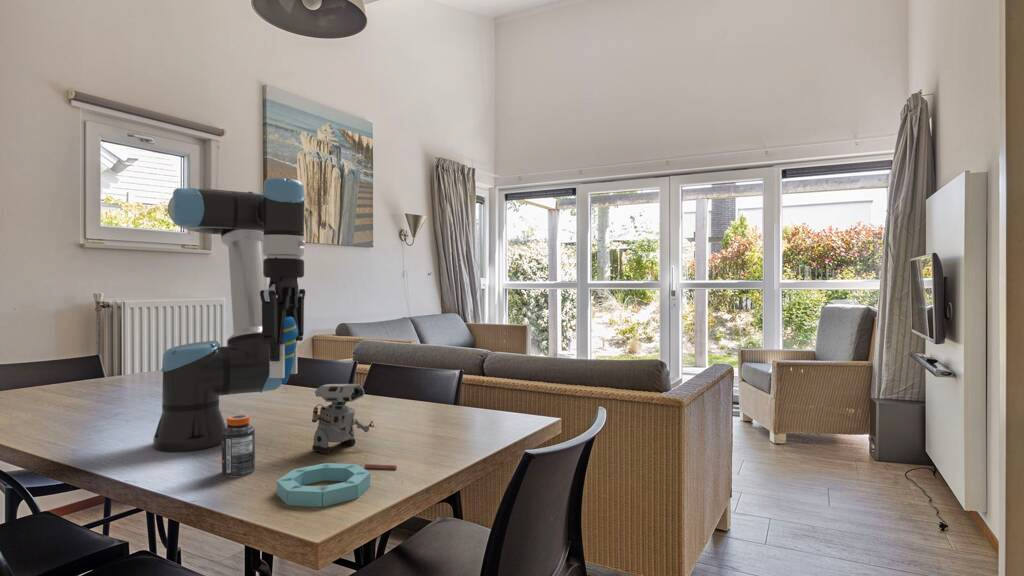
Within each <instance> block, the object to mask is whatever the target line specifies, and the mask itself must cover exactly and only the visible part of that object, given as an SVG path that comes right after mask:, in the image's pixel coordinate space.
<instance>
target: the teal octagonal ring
mask: <svg viewBox="0 0 1024 576" xmlns="http://www.w3.org/2000/svg"><path fill="white" fill-rule="evenodd" d="M325 481H334V482H337V483H333V484H330V485H324V486H318V485H317V486H316V485H315V486H313V485H311V484H315V483H319V482H325ZM370 487H371V472H370V471H369V470H367V469H366V468H365V467H364V468H363V467H362V466H361V465H359V464H357V463H356V464H355V463H336V462H335V463H331V462H324V463H320V464H315V465H309V466H305V467H300V468H294V469H291V470H290V471H289V472H287V473H285V474H284V475H283V476H281V477H280V478H278V479H277V480H276V496H277V497H279V498H280V499H281V501H283V502H284V503H285V504H286V505H287V506H296V507H297V506H300V507H314V508H317V507H319V508H323V507H328V506H332V505H336V504H337V505H338V504H340V503H344V502H349V501H352V500H357V499H358V498H360V497H361V496H362V494H364V493H365V492H366V491H367V490H368V489H369V488H370Z"/></svg>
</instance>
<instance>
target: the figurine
mask: <svg viewBox="0 0 1024 576" xmlns="http://www.w3.org/2000/svg"><path fill="white" fill-rule="evenodd" d="M314 394H315V396H316V397H317V398H318V397H319V398H320V397H321V398H322V399H323V400H324V401H325V402H326V403H327V402H328V403H330V404H328V405H323V404H320V403H319V404H317V405H316V406H315V407H313V409H312V410H313V411H312V419H311V422H312V423H317V421H318V425H317V429H316V431H315V433H314V435H313V445H312V447H311V448H312V451H314V453H321V454H324V455H325V454H329V452H331V450H330V446H329V443H336V444H337V443H340V445H347V446H350V447H352V446H355V444H356V438H355V431H354V426H356V428H357V429H361V430H362V431H363V432H364V433H368V432H369V431H370V428H375V426H374V421H373V420H371V422H370V423H369V424H368V425H365V424H363V423H362V422H360V421H359V420H358V418H355V411H356V409H355V408H353V407H350V406H349V405H347V402H348V403H349V402H350V403H352V402H354V401H357V400H359V399H362V398H364V397H365V389H364V388H363V387H362V385H361V384H360V383H329V384H328V383H326V384H323V385H321V386H319V387H318V388H316V390H315V391H314ZM318 406H320V410H319V407H318ZM318 413H319V414H318Z"/></svg>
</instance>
